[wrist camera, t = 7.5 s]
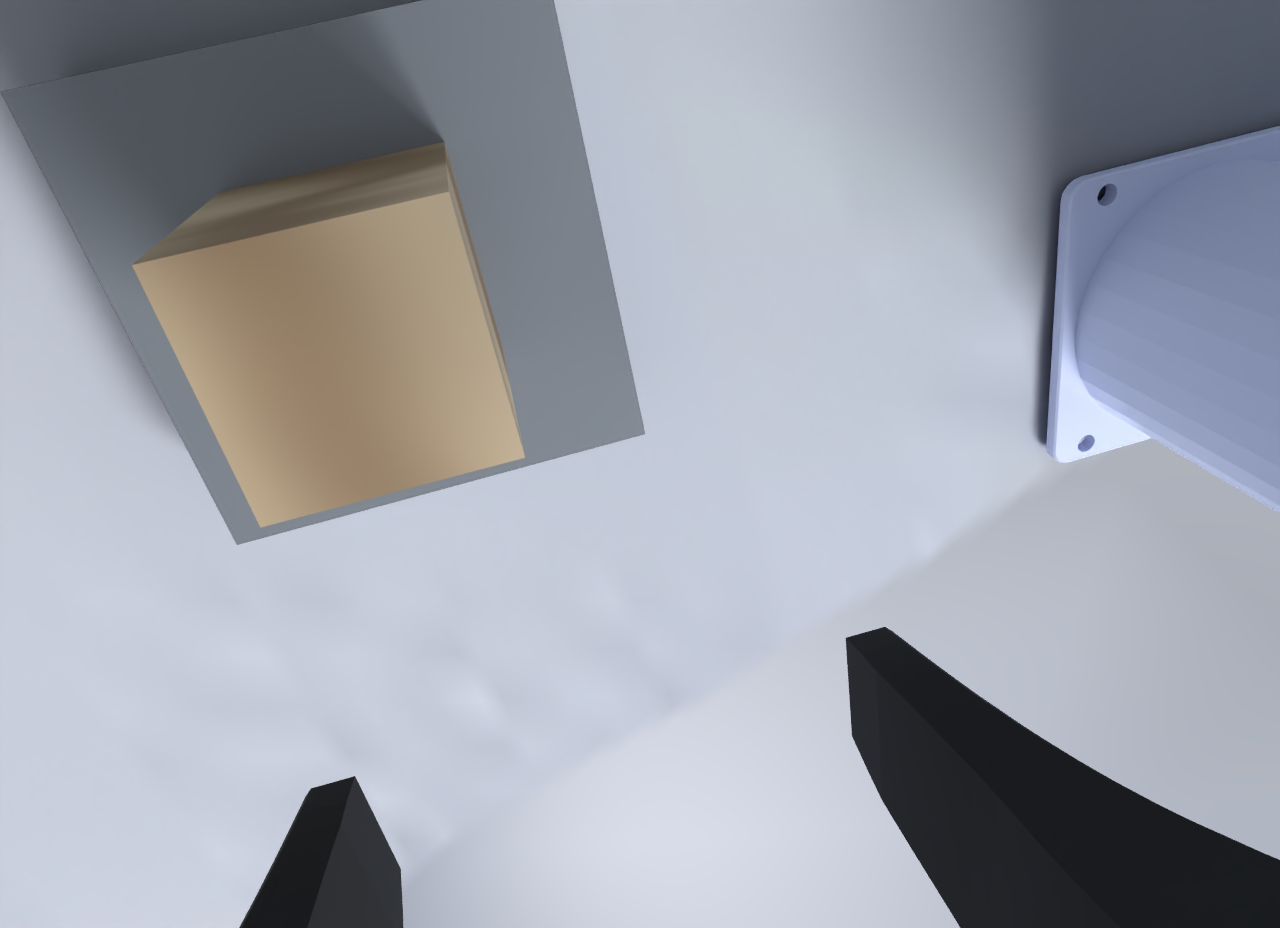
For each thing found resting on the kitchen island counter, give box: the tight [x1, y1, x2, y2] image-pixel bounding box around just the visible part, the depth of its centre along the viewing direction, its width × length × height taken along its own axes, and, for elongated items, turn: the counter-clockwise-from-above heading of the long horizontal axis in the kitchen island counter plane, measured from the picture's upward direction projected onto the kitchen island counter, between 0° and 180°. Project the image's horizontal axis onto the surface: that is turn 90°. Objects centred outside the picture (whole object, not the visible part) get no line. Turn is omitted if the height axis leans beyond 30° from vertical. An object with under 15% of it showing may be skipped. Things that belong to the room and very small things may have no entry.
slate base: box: [1, 0, 645, 545], centre depth 17 cm, size 9×9×2 cm
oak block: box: [132, 142, 525, 528], centre depth 14 cm, size 4×4×5 cm
